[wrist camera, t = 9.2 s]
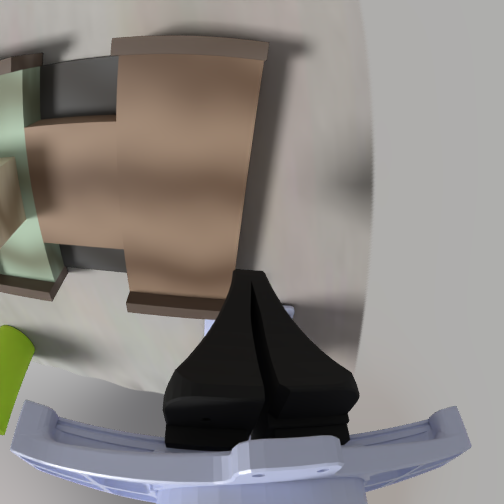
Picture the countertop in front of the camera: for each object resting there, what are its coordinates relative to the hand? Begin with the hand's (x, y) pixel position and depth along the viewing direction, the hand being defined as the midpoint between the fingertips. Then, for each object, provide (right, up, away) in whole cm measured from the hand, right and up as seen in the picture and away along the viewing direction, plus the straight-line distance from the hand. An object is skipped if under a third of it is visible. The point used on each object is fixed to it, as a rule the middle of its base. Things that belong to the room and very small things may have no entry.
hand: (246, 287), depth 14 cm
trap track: (-12, +7, +6) cm, 15 cm away
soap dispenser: (-31, -10, +17) cm, 37 cm away
